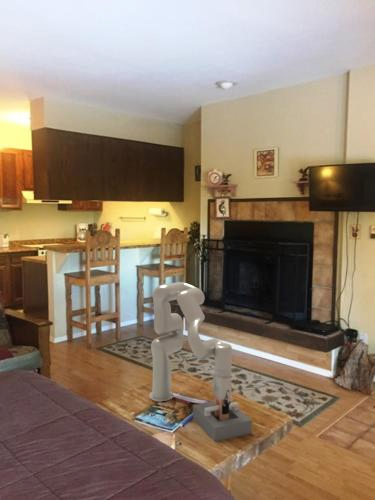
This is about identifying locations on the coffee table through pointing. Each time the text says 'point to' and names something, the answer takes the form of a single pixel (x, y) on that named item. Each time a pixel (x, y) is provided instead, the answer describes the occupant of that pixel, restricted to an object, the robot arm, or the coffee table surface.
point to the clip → (219, 412)
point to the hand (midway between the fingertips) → (221, 410)
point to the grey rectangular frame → (223, 429)
